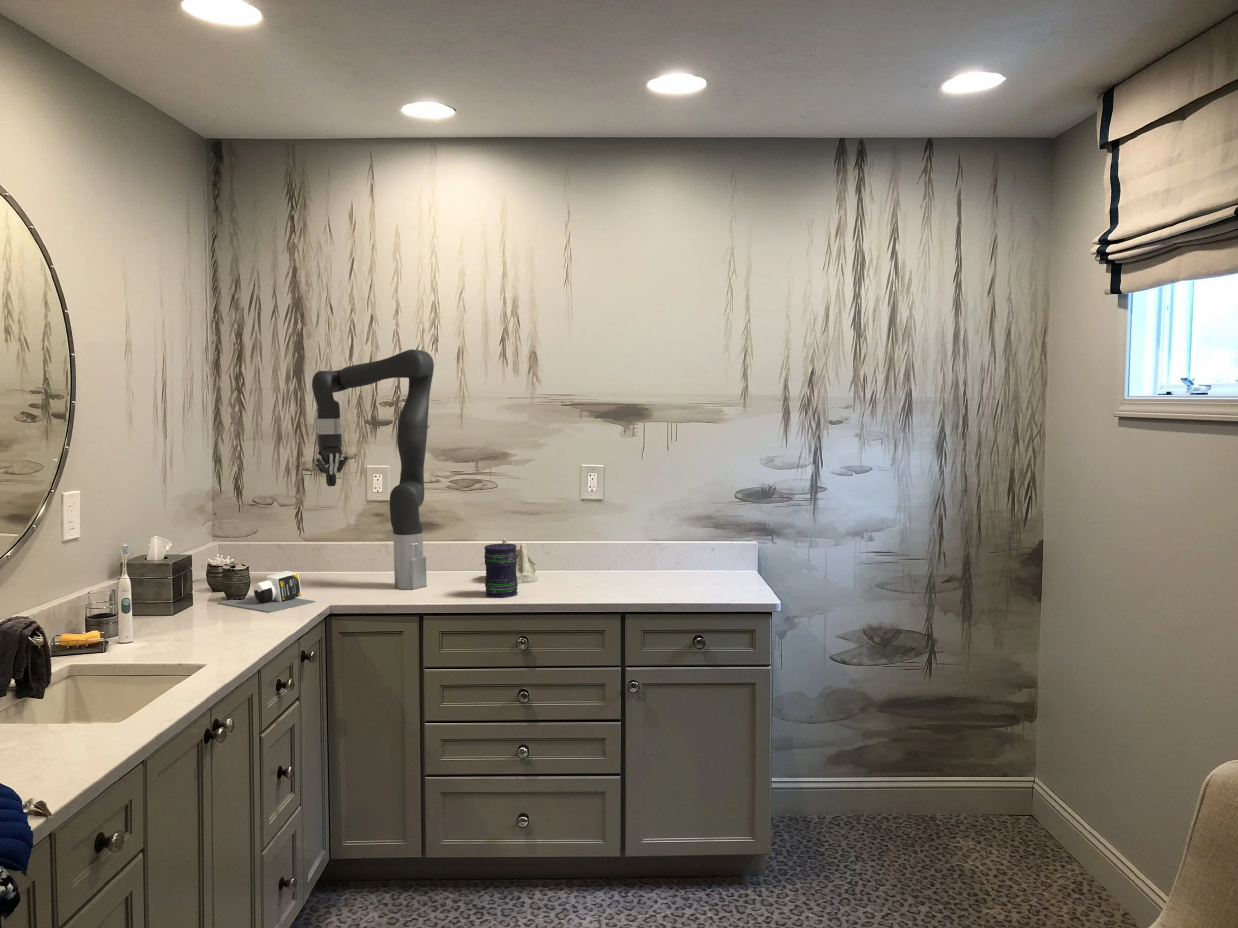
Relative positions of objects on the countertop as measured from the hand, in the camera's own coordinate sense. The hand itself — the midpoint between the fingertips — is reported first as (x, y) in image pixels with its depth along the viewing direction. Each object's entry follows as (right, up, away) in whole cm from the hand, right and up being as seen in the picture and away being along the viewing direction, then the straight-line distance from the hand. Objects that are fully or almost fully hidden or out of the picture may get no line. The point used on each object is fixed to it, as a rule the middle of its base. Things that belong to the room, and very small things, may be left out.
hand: (331, 485), depth 307 cm
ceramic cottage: (+58, -31, +4) cm, 66 cm away
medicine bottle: (-5, -29, -20) cm, 36 cm away
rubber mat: (-11, -34, -27) cm, 45 cm away
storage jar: (+58, -33, -20) cm, 69 cm away
